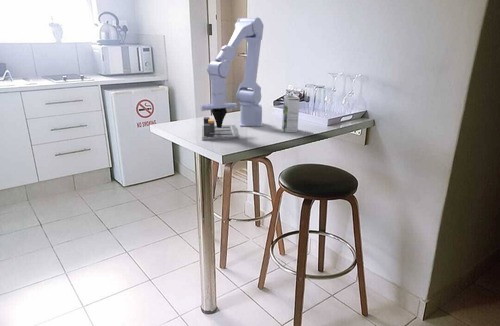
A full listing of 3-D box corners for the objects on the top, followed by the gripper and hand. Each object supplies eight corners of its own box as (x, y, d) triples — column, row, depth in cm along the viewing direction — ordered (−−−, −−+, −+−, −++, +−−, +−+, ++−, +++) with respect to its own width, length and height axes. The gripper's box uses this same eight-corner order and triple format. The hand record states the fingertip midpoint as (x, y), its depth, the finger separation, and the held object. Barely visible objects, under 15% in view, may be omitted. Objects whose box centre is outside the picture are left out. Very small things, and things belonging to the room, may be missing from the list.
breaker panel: (234, 127, 155) (234, 115, 153) (239, 139, 138) (239, 126, 136) (202, 128, 153) (201, 116, 151) (202, 140, 136) (201, 126, 135)
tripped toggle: (214, 128, 146) (214, 119, 145) (214, 130, 143) (214, 121, 142) (208, 129, 146) (208, 119, 145) (208, 131, 143) (208, 121, 142)
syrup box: (281, 128, 154) (283, 94, 149) (295, 128, 154) (297, 94, 149) (283, 132, 148) (285, 97, 144) (298, 132, 149) (300, 97, 144)
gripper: (232, 90, 146) (232, 123, 151) (197, 92, 141) (198, 126, 145) (238, 93, 140) (238, 127, 145) (202, 95, 135) (203, 130, 139)
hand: (219, 127), depth 145 cm, fingers closed
